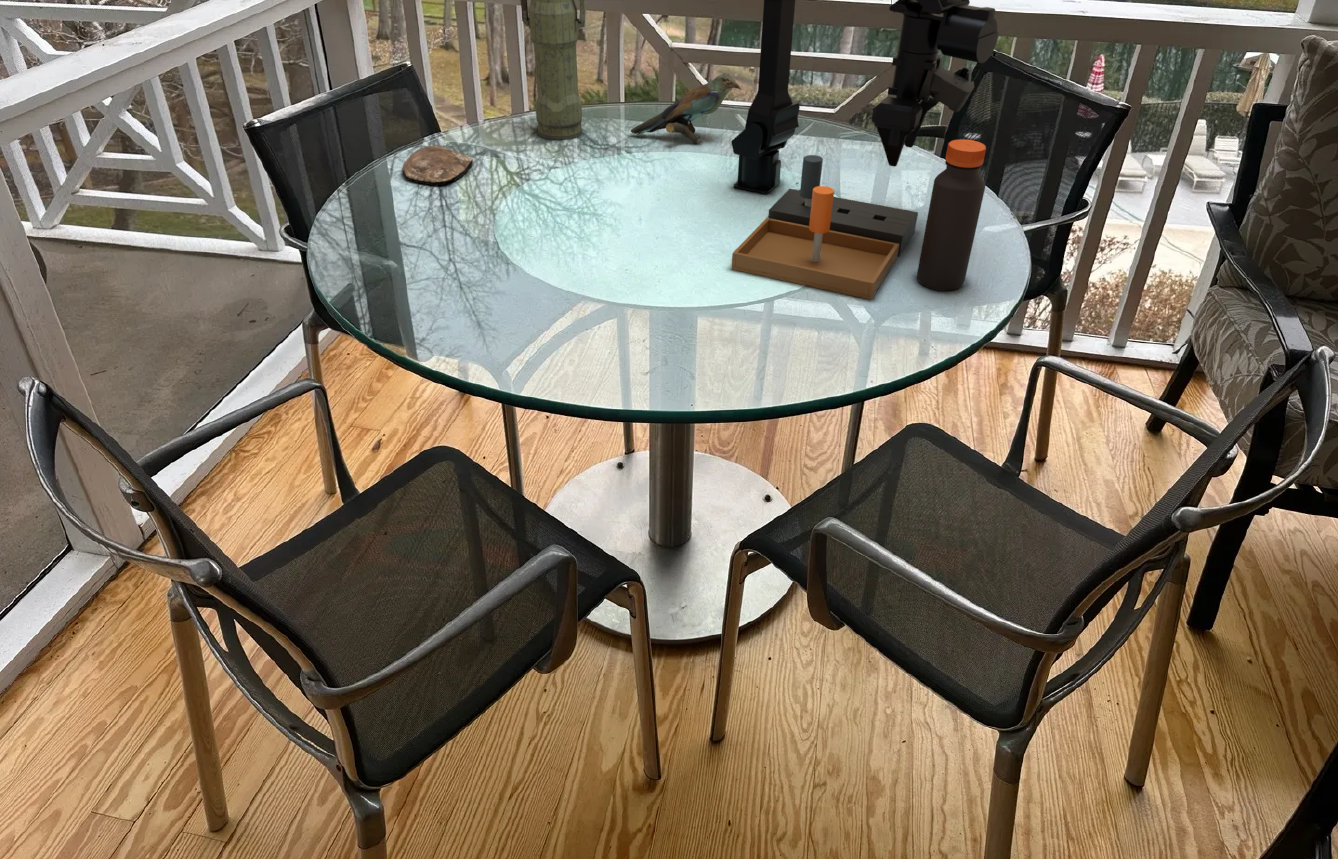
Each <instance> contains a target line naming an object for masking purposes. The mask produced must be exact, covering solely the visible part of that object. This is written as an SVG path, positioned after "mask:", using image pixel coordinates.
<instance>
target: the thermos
mask: <svg viewBox="0 0 1338 859" xmlns="http://www.w3.org/2000/svg"><path fill="white" fill-rule="evenodd" d="M585 5H586V4H585V0H579V18H578V8H577V5H576V2H575V0H530V4H529V8H528V0H520V8H521V9H520V10H521V21H522V22H523V24H524V25H525V26H526V27H528V29H530V30H529V31H530V32H529V33H530V40H531V42H532V44H533V49H534V52H533V53H534V64H535V77H536V92H537V98H536V102H535V115H536V116H535V117H536V122H537V128H538V129H537V133H538V135H539V137H542V138H544V139H547V140H554V141H565V140H571V139H575V138H578V137H580V136H582V133H583V127H582V120H583V107H582V105H583V104H582V100H581V96H580V94H579V80H578V79H579V78H578V60H577V59H578V58H577V56H578V54H577V42H578V41H579V40H578V39H579V29H580V28H584V27H585V23H586V8H585V7H586V6H585Z"/></svg>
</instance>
